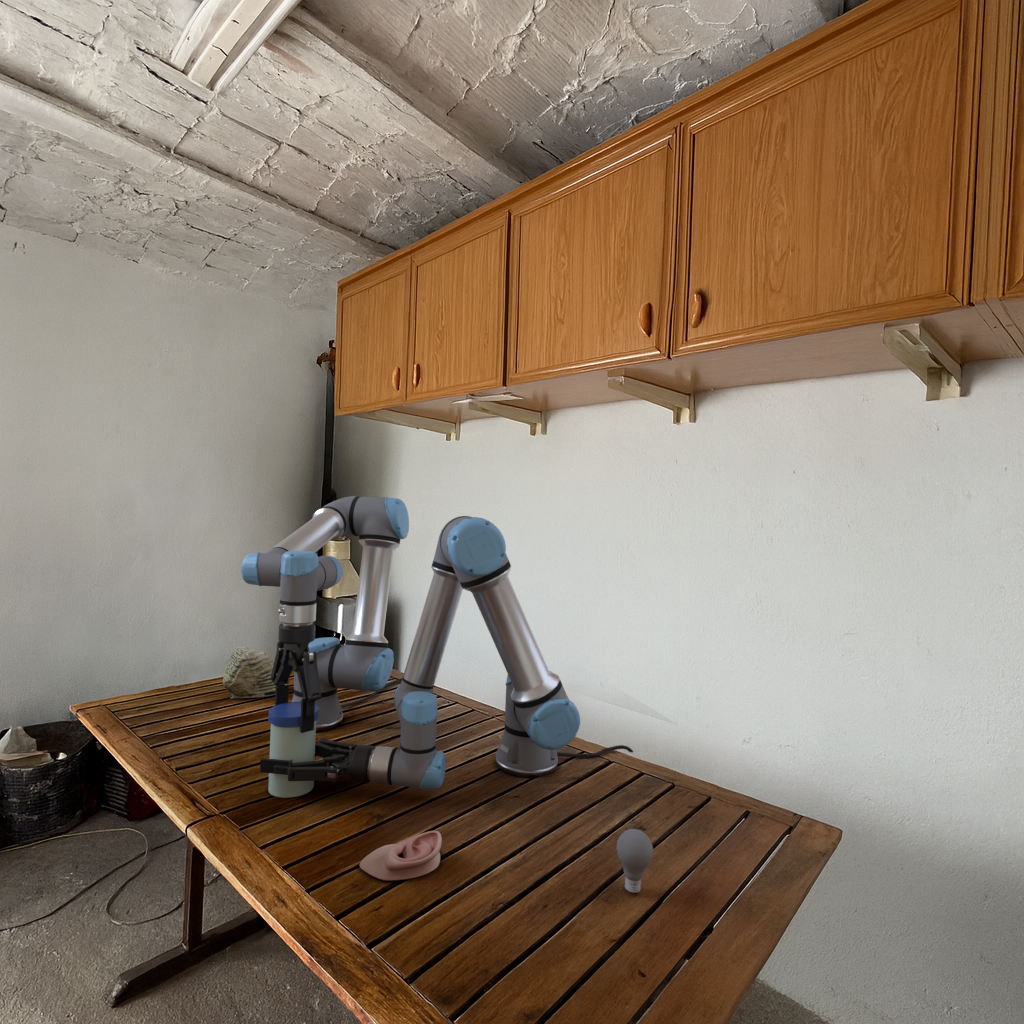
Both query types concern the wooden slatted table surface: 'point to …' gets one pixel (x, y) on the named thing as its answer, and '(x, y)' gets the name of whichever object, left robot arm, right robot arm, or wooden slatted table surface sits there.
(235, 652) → the fossil
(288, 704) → the lid
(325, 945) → the wooden slatted table surface
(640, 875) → the light bulb
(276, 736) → the jar
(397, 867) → the anatomical model
